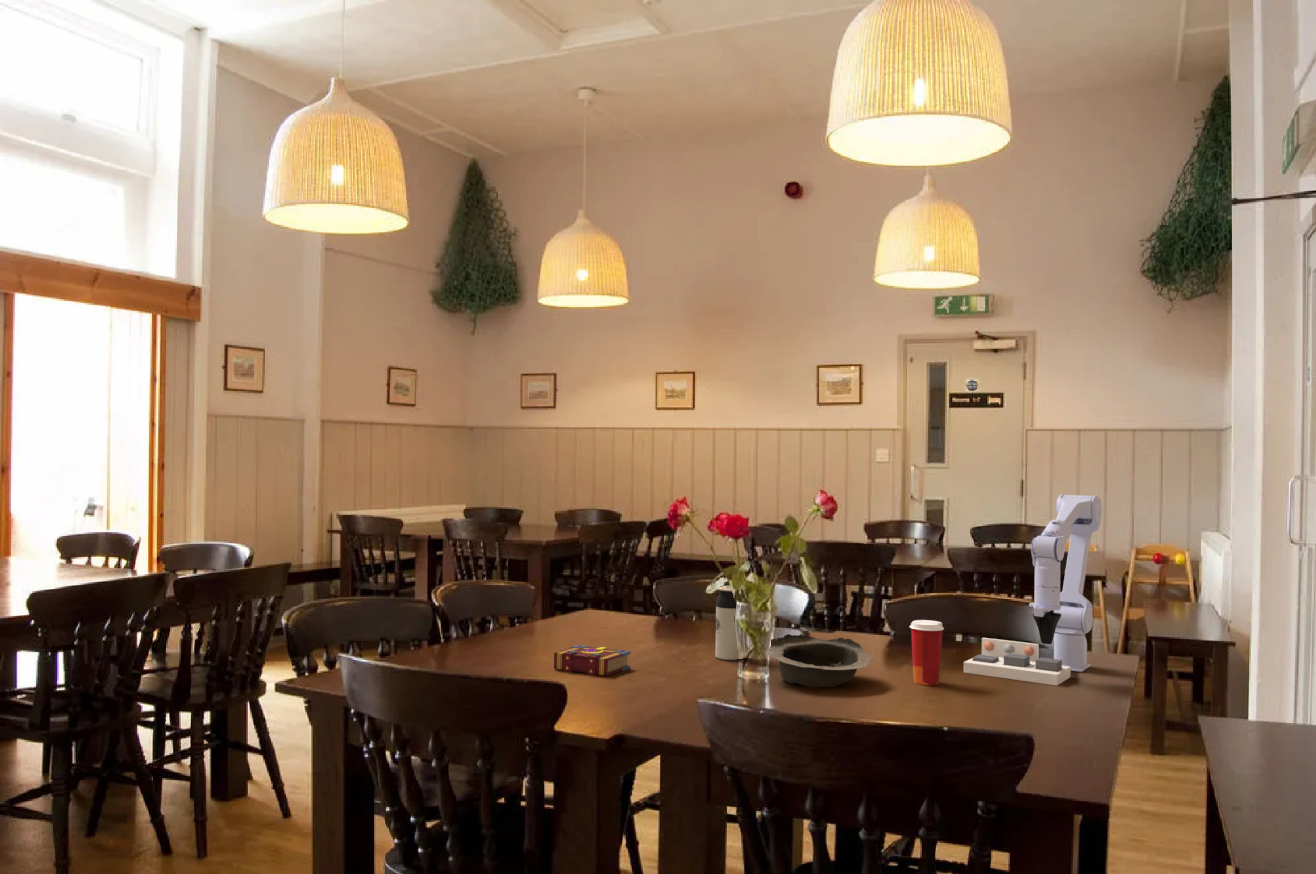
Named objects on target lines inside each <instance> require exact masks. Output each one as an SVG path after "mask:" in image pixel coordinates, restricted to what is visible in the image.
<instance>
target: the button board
mask: <svg viewBox="0 0 1316 874" xmlns="http://www.w3.org/2000/svg"><path fill="white" fill-rule="evenodd" d="M1071 672H1072V671H1071V667H1070V666H1062V670H1060V671H1058V672H1054V671H1046V670H1039V669H1036V662H1031V661H1030V665H1029V666H1027V667H1025V668H1024V667H1016V666H1009V665H1004V658H1000V657H999V661H997V662H995V663H986V662H979V661H973V657H972V658H970V659H968V660H965V661H963V673H964V674H972V675H980V676H986V677H992V678H993V677H994V678H1000V679H1007V680H1014V681H1020V682H1021V681H1023V682H1030V683H1036V684H1043V685H1050V686H1056V687H1057V686H1059V685H1060V684H1062V683H1063V682H1065V681H1066V680H1068V679H1070V678H1071Z"/></svg>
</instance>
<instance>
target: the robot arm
mask: <svg viewBox="0 0 1316 874" xmlns="http://www.w3.org/2000/svg"><path fill="white" fill-rule="evenodd" d="M1055 506H1056V507H1055V509H1056V514H1057V515H1056V519H1051V520H1050V521H1049V522H1048V524H1047V525H1046V526H1045V528H1044V529H1043V531H1042V533H1041V534H1040V535H1037V536H1036V537H1033V539H1032V540H1031V547H1030V553H1031V559H1032V566H1033V567H1034V594H1033V595H1034V602H1030V603H1028V604H1029V605H1028V606H1029V607H1030V608H1031V607H1032V608H1033V613H1032V618H1033V619H1034V621H1035V624H1036V627H1037V629H1038V633H1039V634H1038V635H1039V639H1040V642H1041V644H1045V645H1052V644H1053V659H1058V660H1062V666H1070V667H1071V672H1078V673H1079V672H1080V673H1083V672H1084V671H1086V670H1087V669H1089V668H1090V667H1091V666H1092V664H1090V663H1088V657H1087V656H1088V642H1087V638H1086V634H1087V633H1090V631H1091V630H1092V628H1093V623H1094V617H1093V616H1094V615H1093V612H1094V611H1093V610H1094V609H1093V608H1094V607H1093V603H1092V602H1091V601H1090V600H1089V599H1087V597H1085V596H1084V589H1085V588H1084V587H1085V581H1086V575H1087V573H1086V572H1087V566H1088V560H1089V551H1090V544H1091V539H1092V536H1093V533H1095V532H1097V531H1099V529H1100V526H1101V520H1102V512H1103V511H1102V510H1103V509H1102V500H1101V499H1100V497H1099V496H1098V495H1097V494H1095V495H1083V494H1082V495H1080V494H1079V495H1077V494H1072V495H1071V494H1064V493H1061V494H1059V496H1058V497H1057V499H1056V505H1055ZM1068 540H1069V544H1068V552H1067V559H1066V565H1065V572H1064V577H1063V578H1064V579H1063V586H1062V591H1061V561H1062V560H1063V559H1064V555H1065V550H1066V548H1067V547H1066V543H1067V542H1068Z"/></svg>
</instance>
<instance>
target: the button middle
mask: <svg viewBox="0 0 1316 874" xmlns="http://www.w3.org/2000/svg"><path fill="white" fill-rule="evenodd" d="M1004 665H1009V666H1016V667H1024V668H1025V667H1027V666H1029V665H1030V656H1027V655H1019V654H1011V653H1010V654H1008V655H1005V656H1004Z"/></svg>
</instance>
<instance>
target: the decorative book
mask: <svg viewBox="0 0 1316 874" xmlns="http://www.w3.org/2000/svg"><path fill="white" fill-rule="evenodd" d="M553 653H554V654H553V655H554V656H553V668H554V670H562V671H563V672H565V673H573V672H577V673H585V674H587V675H588V676H606V677H607V676H610V675H613V674H616V673H618V672H621V671H623V672H624V671H627V670H629V669H631V665H630V664H628V656H629V655H631V650H625V649H623V650H622V649H608V647H606V646H600V647H592V646H590V645H583V644H582V645H581V644H576V645H573V646H569V648H566V649H562V650H558V651H555V652H553Z"/></svg>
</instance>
